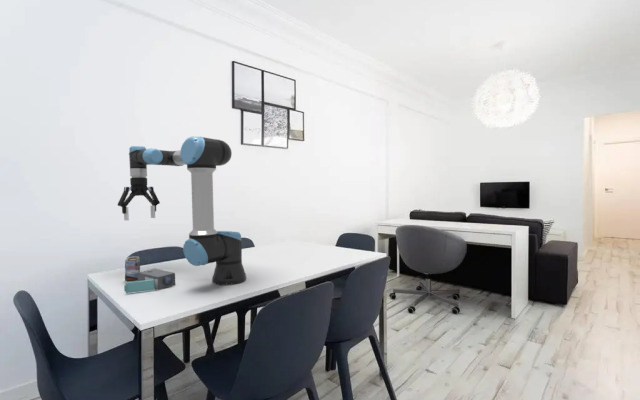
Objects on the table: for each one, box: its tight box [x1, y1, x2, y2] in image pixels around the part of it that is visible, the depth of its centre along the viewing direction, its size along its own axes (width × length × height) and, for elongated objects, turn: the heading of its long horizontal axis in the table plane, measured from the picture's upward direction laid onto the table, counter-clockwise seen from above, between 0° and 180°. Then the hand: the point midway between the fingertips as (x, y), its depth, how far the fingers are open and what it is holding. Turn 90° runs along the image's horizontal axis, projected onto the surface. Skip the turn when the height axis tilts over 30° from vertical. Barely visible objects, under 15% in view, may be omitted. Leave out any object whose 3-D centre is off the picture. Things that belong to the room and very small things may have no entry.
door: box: [123, 279, 158, 294], centre depth 138 cm, size 12×2×4 cm, turn 113°
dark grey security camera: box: [137, 268, 176, 291], centre depth 149 cm, size 17×8×6 cm, turn 58°
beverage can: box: [124, 256, 141, 283], centre depth 154 cm, size 6×7×12 cm
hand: (140, 219), depth 168 cm, fingers open, 13 cm apart
